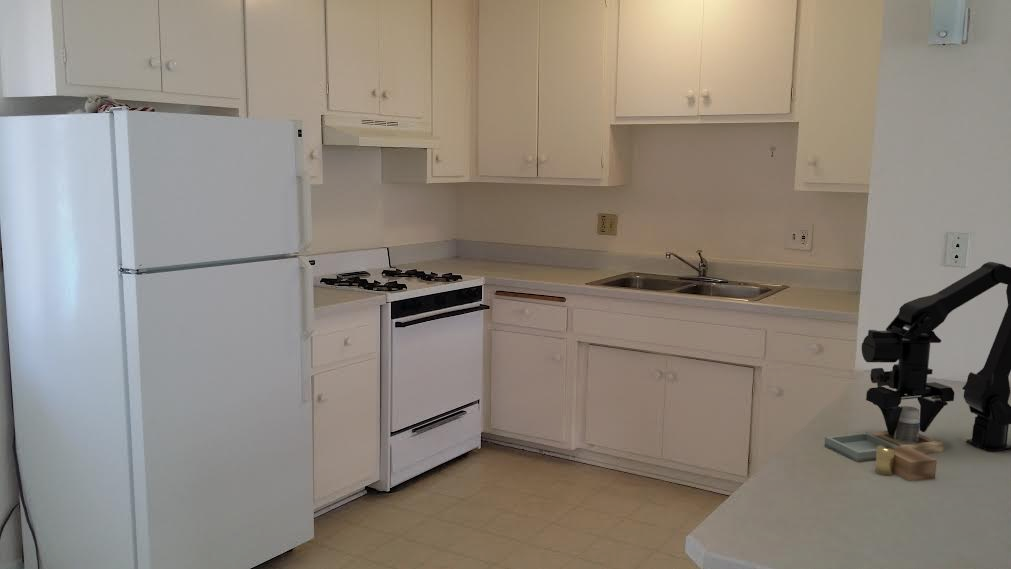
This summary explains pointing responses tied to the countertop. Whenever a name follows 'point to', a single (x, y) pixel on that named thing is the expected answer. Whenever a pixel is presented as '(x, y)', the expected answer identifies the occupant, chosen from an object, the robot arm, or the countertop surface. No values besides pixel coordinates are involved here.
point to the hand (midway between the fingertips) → (906, 433)
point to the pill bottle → (908, 426)
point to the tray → (856, 445)
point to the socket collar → (923, 445)
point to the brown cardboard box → (913, 464)
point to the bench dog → (884, 460)
